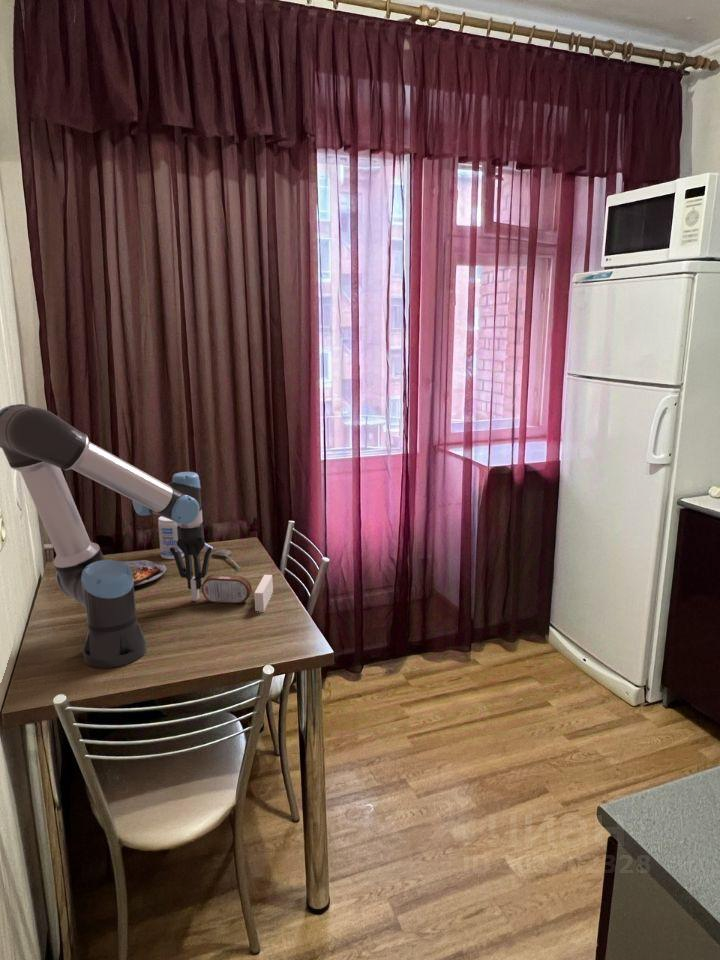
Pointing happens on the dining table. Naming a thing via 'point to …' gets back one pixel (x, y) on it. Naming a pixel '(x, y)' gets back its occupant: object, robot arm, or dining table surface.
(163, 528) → the supplement tub
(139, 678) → the dining table surface
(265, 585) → the board
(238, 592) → the tin
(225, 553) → the soupspoon
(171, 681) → the dining table surface
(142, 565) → the food plate
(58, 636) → the dining table surface
